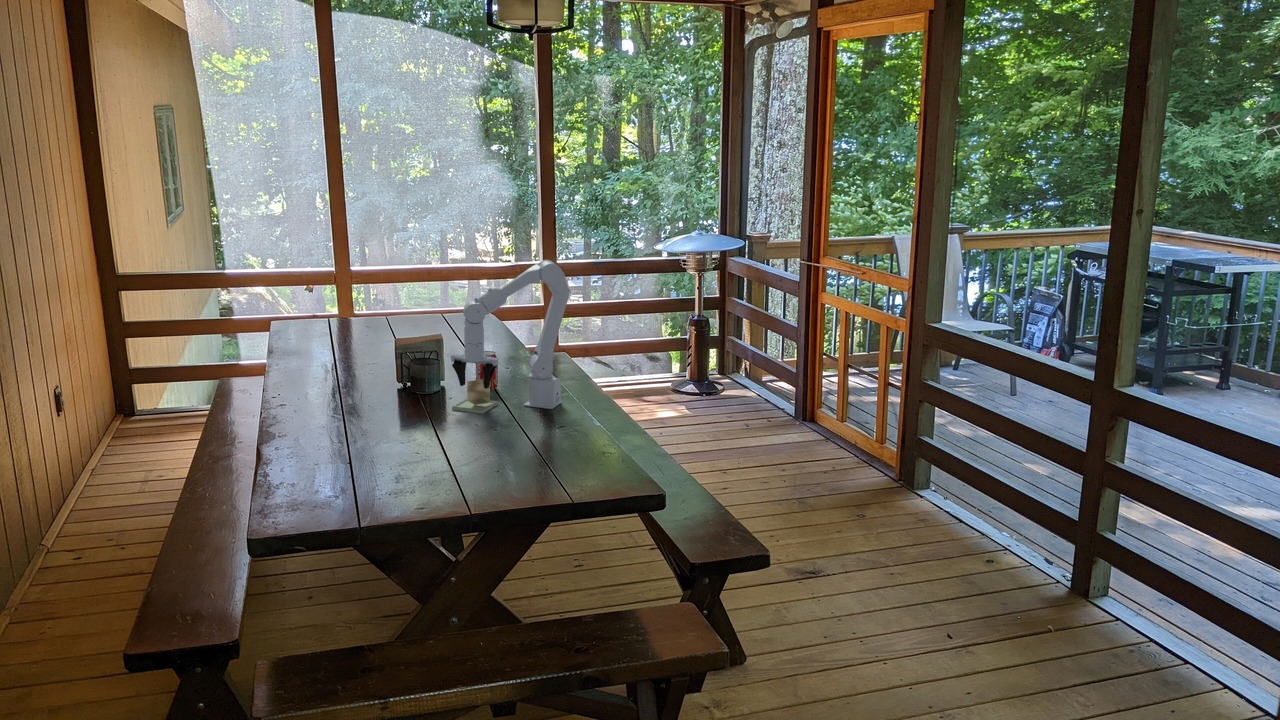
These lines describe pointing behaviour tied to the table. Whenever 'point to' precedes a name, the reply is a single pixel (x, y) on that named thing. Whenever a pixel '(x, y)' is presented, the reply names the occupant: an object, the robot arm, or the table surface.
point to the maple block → (477, 392)
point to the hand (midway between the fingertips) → (474, 386)
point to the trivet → (474, 406)
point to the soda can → (481, 374)
